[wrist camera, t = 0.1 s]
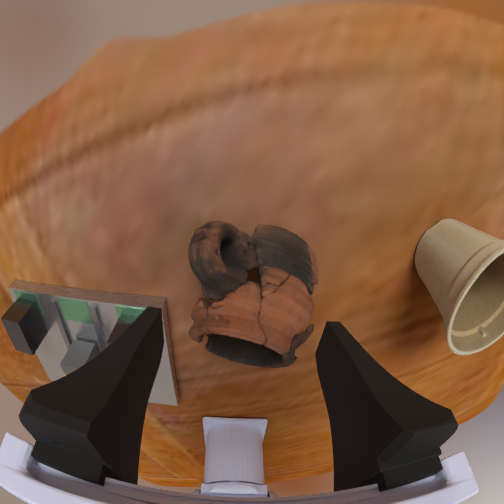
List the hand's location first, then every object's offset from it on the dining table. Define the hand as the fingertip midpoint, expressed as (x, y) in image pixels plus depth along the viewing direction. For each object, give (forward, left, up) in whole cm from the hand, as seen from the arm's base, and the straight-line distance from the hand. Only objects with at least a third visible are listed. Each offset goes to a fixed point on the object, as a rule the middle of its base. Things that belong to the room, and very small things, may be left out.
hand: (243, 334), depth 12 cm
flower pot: (0, -18, -10) cm, 20 cm away
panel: (-13, +14, -10) cm, 22 cm away
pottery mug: (-3, -1, -10) cm, 11 cm away
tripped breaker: (-13, +14, -8) cm, 21 cm away
